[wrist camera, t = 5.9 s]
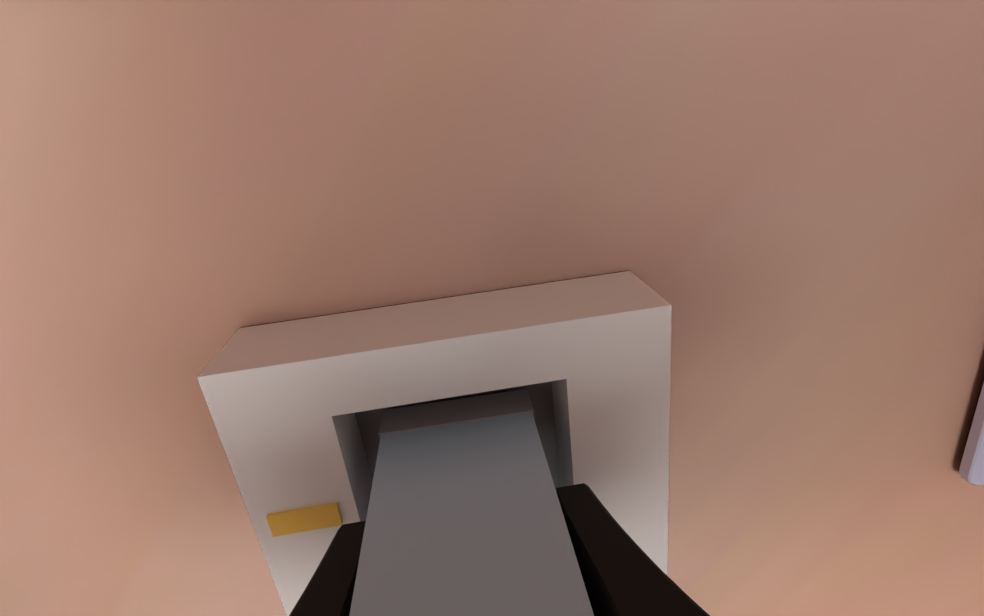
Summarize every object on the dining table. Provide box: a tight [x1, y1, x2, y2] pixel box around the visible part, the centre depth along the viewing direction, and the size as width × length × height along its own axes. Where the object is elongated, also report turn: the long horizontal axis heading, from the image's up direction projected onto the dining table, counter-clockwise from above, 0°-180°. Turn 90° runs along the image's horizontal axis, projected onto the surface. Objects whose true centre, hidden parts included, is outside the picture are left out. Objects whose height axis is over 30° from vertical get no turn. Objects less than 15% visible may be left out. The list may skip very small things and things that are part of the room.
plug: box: [349, 389, 594, 616], centre depth 11 cm, size 4×4×6 cm
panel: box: [197, 271, 672, 616], centre depth 15 cm, size 10×16×3 cm, turn 7°
